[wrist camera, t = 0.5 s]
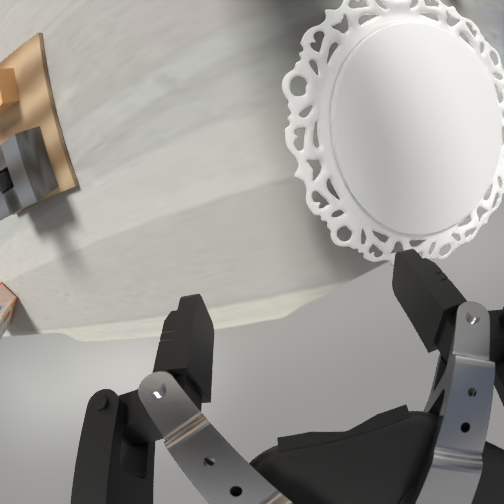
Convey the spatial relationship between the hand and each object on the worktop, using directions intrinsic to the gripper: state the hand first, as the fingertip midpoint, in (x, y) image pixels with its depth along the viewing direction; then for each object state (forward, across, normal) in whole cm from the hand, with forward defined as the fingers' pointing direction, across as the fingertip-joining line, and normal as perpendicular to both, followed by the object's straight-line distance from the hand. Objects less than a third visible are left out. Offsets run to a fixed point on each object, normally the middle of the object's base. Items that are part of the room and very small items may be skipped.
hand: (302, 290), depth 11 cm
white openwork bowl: (+28, -18, -2) cm, 33 cm away
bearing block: (+28, +34, -16) cm, 47 cm away
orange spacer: (+27, +35, -23) cm, 50 cm away
